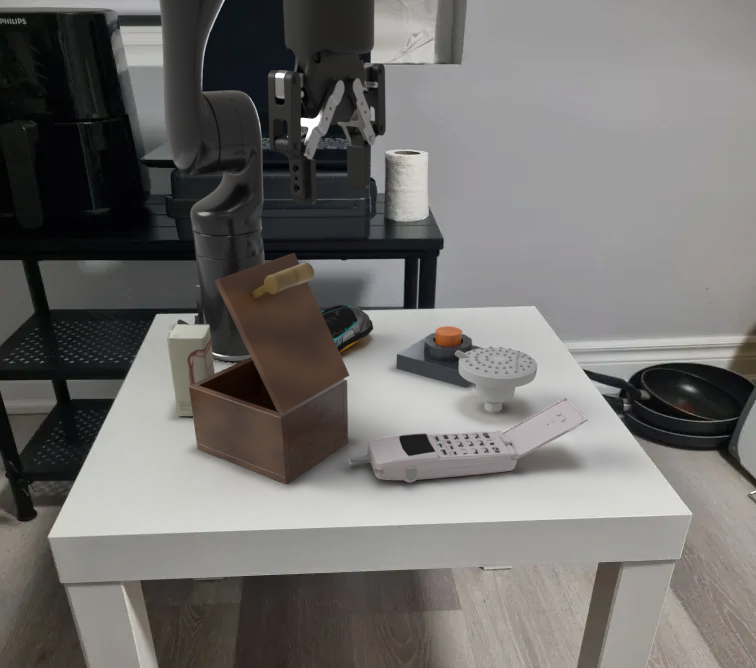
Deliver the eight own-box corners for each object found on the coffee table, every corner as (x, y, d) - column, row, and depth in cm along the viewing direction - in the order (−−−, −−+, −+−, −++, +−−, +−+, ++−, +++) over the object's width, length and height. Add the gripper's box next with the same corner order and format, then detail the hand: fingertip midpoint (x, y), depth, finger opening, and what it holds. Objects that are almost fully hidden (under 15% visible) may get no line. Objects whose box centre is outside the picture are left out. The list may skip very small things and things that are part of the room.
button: (430, 344, 102) (430, 331, 101) (443, 336, 105) (444, 324, 104) (453, 349, 100) (453, 337, 99) (465, 341, 103) (466, 329, 102)
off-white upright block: (213, 417, 91) (202, 338, 86) (176, 417, 91) (164, 338, 85) (219, 399, 95) (210, 322, 90) (185, 399, 95) (174, 323, 90)
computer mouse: (261, 353, 108) (257, 314, 105) (352, 327, 117) (351, 291, 114) (295, 372, 103) (293, 332, 99) (388, 343, 112) (388, 306, 109)
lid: (214, 281, 71) (244, 263, 68) (289, 255, 78) (320, 237, 75) (278, 414, 74) (310, 403, 71) (344, 377, 82) (376, 365, 79)
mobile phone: (592, 420, 78) (357, 438, 74) (583, 468, 82) (358, 489, 77) (569, 396, 83) (348, 412, 79) (561, 443, 87) (348, 461, 82)
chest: (197, 449, 85) (188, 385, 80) (262, 413, 92) (257, 353, 88) (286, 484, 78) (281, 417, 74) (348, 442, 86) (347, 380, 82)
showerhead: (459, 336, 94) (539, 343, 93) (455, 389, 98) (532, 396, 97) (450, 365, 87) (537, 373, 85) (446, 421, 91) (529, 429, 89)
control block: (396, 368, 104) (396, 341, 102) (429, 348, 110) (430, 322, 108) (465, 388, 99) (467, 359, 97) (496, 366, 105) (499, 338, 103)
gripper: (341, -14, 67) (344, 178, 76) (234, -19, 57) (251, 203, 66) (413, -14, 64) (406, 188, 73) (311, -19, 54) (318, 215, 63)
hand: (332, 195), depth 70 cm, fingers open, 8 cm apart
